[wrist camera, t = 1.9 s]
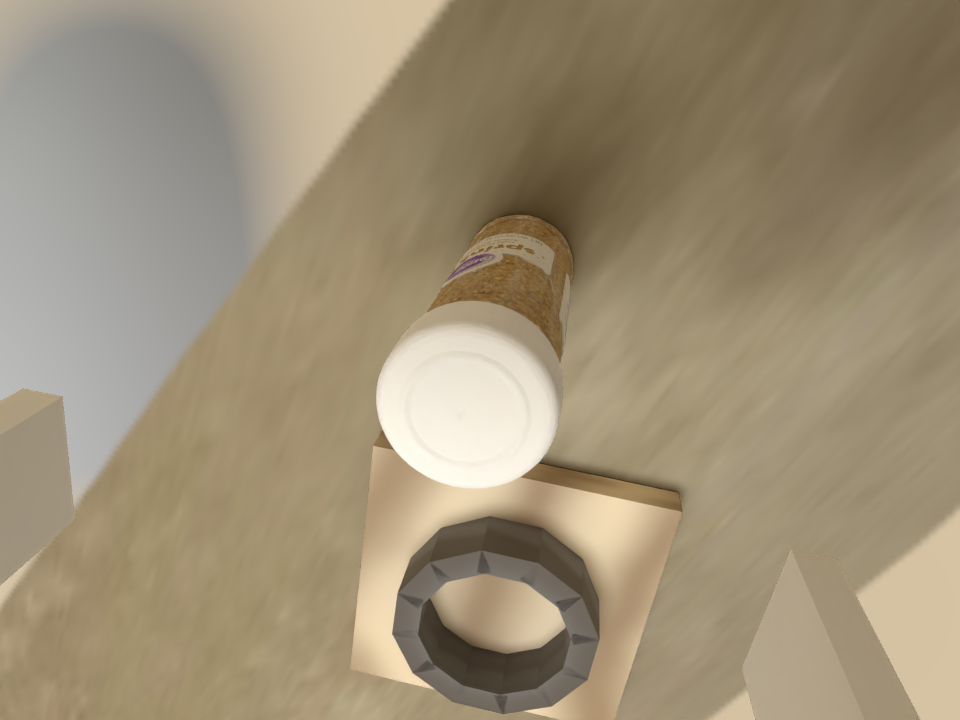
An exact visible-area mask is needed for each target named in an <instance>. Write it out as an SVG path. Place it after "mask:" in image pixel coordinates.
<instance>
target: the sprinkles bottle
mask: <svg viewBox="0 0 960 720" xmlns="http://www.w3.org/2000/svg"><path fill="white" fill-rule="evenodd" d="M572 280H573V257H572V254H571V251H570V248H569V245H568V243H567V241H566V239H565V238H564V236H563V235H562V234H561V233H560V232H559V231H558V230H557V229H556V228H555V227H553V226H552V225H551V224H548V223H547V222H545V221H544V220H541V219H539V218H537V217H533V216H530V215H511V216H505V217H500V218H497V219H495V220H494V221H492V222H490V223H488V224H486V225H485V226H484V227H483V228H482V229H481V230H480V231H479V232H478V233H477V234H476V236H475V237H474V239H473V240H472V242H471V244H470V246H469V248H468V251H467V252H466V253H465V254H464V255H463V256H462V258H461V259H460V261H459V262H458V263H457V265H456V266H455V268H454V269H453V271H452V272H451V274H450V275H449V277H448V278H447V280H446V281H445V282H444V284H443V286H442V289H441V291H440V293H439V294H438V296H437V297H436V299H435V300H434V302H433V304H432V305H431V307H430V308H429V310H428V311H427V313H426V314H424V315H422V316H421V317H420V318H418V319H417V320H416V321H415V322H414V323H413V324H412V325H411V326H410V327H409V328H408V329H407V330H406V331H405V333H404V334H403V335H402V337H401V338H400V339H399V341H398V342H397V344H396V345H395V347H394V348H393V350H392V351H391V353H390V355H389V356H388V358H387V360H386V362H385V363H384V365H383V368H382V370H381V373H380V376H379V379H378V384H377V394H376V403H377V412H378V417H379V420H380V424H381V427H382V429H383V431H384V433H385V436H386V437H387V439H388V441H389V442H390V444H391V446H392V447H393V448H394V450H395V451H396V452H397V453H398V454H399V456H400V457H401V458H402V459H403V460H404V461H406V462H407V463H408V464H409V465H410V466H411V467H413V468H414V469H415V470H417V471H418V472H420V473H421V474H423V475H425V476H426V477H428V478H430V479H432V480H435V481H437V482H440V483H443V484H446V485H450V486H454V487H460V488H472V489H480V488H489V487H495V486H499V485H502V484H506V483H509V482H511V481H514V480H515V479H517V478H519V477H521V476H523V475H524V474H525V473H527V472H528V471H530V470H531V469H532V468H533V467H534V466H535V465H537V464H538V463H539V462H540V460H541V459H542V458H543V457H544V455H545V454H546V453H547V451H548V450H549V448H550V446H551V444H552V442H553V440H554V438H555V435H556V432H557V428H558V423H559V418H560V413H561V407H562V399H563V375H562V370H561V366H560V361H561V359H562V356H563V353H564V347H565V340H566V331H567V322H568V312H569V302H570V286H571V284H572Z"/></svg>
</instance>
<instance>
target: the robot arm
mask: <svg viewBox="0 0 960 720" xmlns="http://www.w3.org/2000/svg"><path fill="white" fill-rule="evenodd" d="M74 520H75V516H74V506H73V496H72V487H71V476H70V467H69V457H68V448H67V437H66V427H65V417H64V407H63V397H62V396H57V395H52V394H48V393H43V392H38V391H33V390H28V389H21V390H19V391H18V392H16V393H14V394H12V395H10V396H9V397H7V398H5V399H3V400H2V401H0V585H1V584H2V583H3V582H4V581H6V580H7V579H8V578H9V577H10V576H11V575H13V574H14V573H15V572H16V571H17V570H18V569H19V568H21V567H22V566H23V565H24V564H25V563H26V562H27V561H29V560H30V559H31V558H32V557H33V556H34V555H35V554H37V553H38V552H39V551H40V550H41V549H42V548H43V547H45V546H46V545H47V544H48V543H49V542H50V541H51V540H53V539H54V538H55V537H56V536H57V535H58V534H59V533H61V532H62V531H63V530H64V529H65V528H66V527H67V526H68V525H70V524H71V523H72V522H73V521H74ZM742 670H743V674H744V678H745V682H746V686H747V689H748V693H749V697H750V701H751V704H752V708H753V712H754V716H755V720H920V718H919V716H918V714H917V712H916V711H915V709H914V707H913V705H912V703H911V701H910V699H909V697H908V695H907V693H906V691H905V690H904V687H903V685H902V683H901V682H900V680H899V678H898V676H897V674H896V672H895V670H894V668H893V666H892V664H891V662H890V660H889V658H888V656H887V655H886V653H885V651H884V649H883V647H882V645H881V643H880V641H879V639H878V637H877V635H876V633H875V631H874V629H873V627H872V626H871V624H870V622H869V620H868V618H867V616H866V614H865V612H864V611H863V608H862V606H861V604H860V602H859V600H858V599H857V597H856V595H855V593H854V591H853V589H852V587H851V585H850V583H849V581H848V579H847V577H846V575H845V573H844V572H843V570H842V568H841V566H840V564H839V562H838V560H837V559H834V558H830V557H825V556H820V555H815V554H810V553H806V552H801V551H796V550H791V551H790V553H789V556H788V558H787V560H786V563H785V565H784V568H783V570H782V573H781V575H780V577H779V580H778V582H777V585H776V587H775V589H774V592H773V594H772V597H771V599H770V602H769V604H768V606H767V609H766V611H765V614H764V616H763V618H762V621H761V623H760V626H759V628H758V631H757V633H756V635H755V638H754V640H753V643H752V645H751V647H750V650H749V652H748V655H747V657H746V660H745V662H744V664H743V667H742Z"/></svg>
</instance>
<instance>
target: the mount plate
mask: <svg viewBox="0 0 960 720" xmlns="http://www.w3.org/2000/svg"><path fill="white" fill-rule="evenodd" d="M681 515H682V507H681V502H680V497H679V493H677V492H672V491H667V490H663V489H658V488H653V487H648V486H644V485H639V484H634V483H630V482H625V481H620V480H615V479H611V478H606V477H601V476H597V475H592V474H587V473H582V472H578V471H573V470H568V469H564V468H559V467H554V466H549V465H545V464H540V463H538V464H537V465H535V466H534V467H533V468H532V469H531V470H530V471H528V472H527V473H525V474H524V475H523V476H521V477H519V478H517V479H515V480H514V481H511V482H509V483H506V484H502V485H499V486H495V487H489V488H480V489H472V488H460V487H454V486H450V485H446V484H443V483H440V482H437V481H435V480H432V479H430V478H428V477H426V476H425V475H423V474H421V473H420V472H418V471H417V470H415V469H414V468H413V467H411V466H410V465H409V464H408V463H407V462H406V461H404V460H403V459H402V458H401V457H400V456H399V454H398V453H397V452H396V451H395V450H394V448H393V447H392V446H391V444H390V442H389V441H388V439H387V437H386V436H385V433H384V431H383V430H382V432H381V434H380V435H379V437H378V439H377V441H376V442H375V444H374V446H373V455H372V464H371V474H370V484H369V494H368V503H367V513H366V523H365V532H364V542H363V552H362V562H361V571H360V581H359V591H358V600H357V610H356V620H355V630H354V639H353V649H352V659H351V668H350V669H352V670H356V671H360V672H364V673H368V674H372V675H377V676H381V677H385V678H389V679H393V680H397V681H402V682H406V683H410V684H414V685H418V686H422V687H426V688H431V689H435V690H437V691H438V692H440V693H441V694H442V695H444V696H445V697H447V698H448V699H449V700H451V701H452V702H455V703H459V704H463V705H468V706H472V707H476V708H480V709H484V710H488V711H492V712H497V713H501V714H507V713H513V712H520V711H526V712H530V713H534V714H538V715H543V716H547V717H551V718H555V719H559V720H614V719H615V716H616V713H617V710H618V707H619V704H620V700H621V697H622V694H623V691H624V688H625V685H626V682H627V679H628V676H629V673H630V670H631V667H632V664H633V661H634V658H635V655H636V652H637V649H638V646H639V643H640V640H641V637H642V634H643V630H644V627H645V624H646V621H647V618H648V615H649V612H650V609H651V606H652V603H653V600H654V597H655V594H656V591H657V588H658V585H659V582H660V579H661V576H662V573H663V570H664V567H665V564H666V560H667V557H668V554H669V551H670V548H671V545H672V542H673V539H674V536H675V533H676V530H677V527H678V524H679V521H680V518H681Z"/></svg>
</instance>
